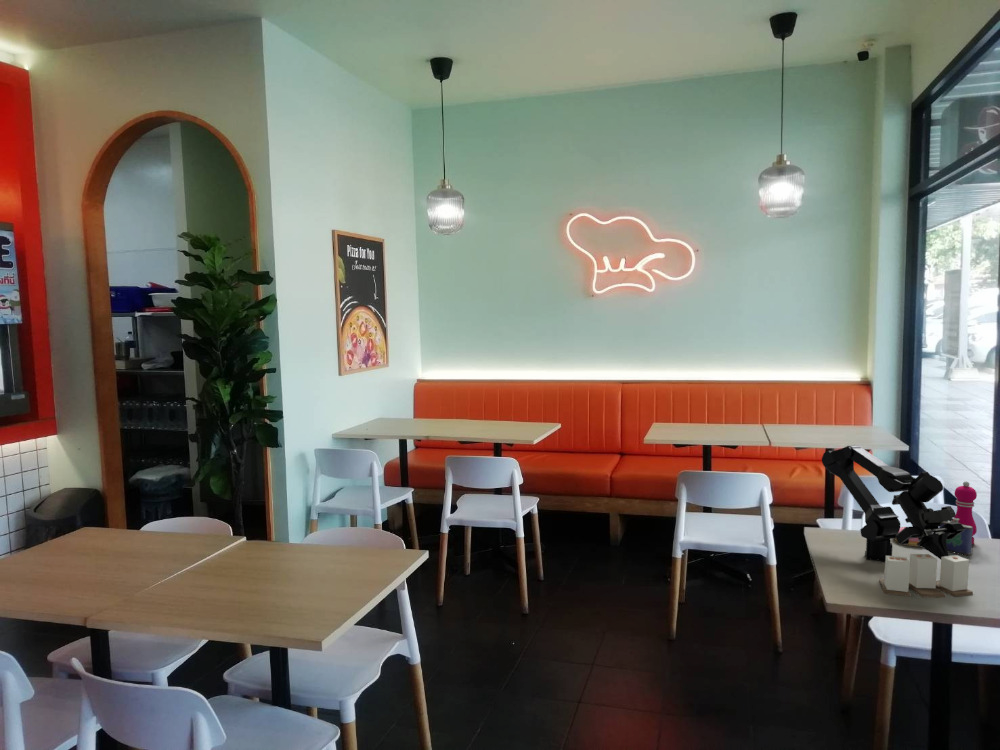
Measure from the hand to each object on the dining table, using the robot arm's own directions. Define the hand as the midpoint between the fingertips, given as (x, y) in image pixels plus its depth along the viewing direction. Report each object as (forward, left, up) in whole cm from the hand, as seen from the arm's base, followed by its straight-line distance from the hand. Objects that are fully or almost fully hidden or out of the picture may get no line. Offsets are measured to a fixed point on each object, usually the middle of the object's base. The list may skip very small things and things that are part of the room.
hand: (947, 561), depth 192 cm
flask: (+7, +34, -7) cm, 36 cm away
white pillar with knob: (+1, -2, -7) cm, 8 cm away
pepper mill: (+11, +46, -7) cm, 48 cm away
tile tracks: (-5, -4, -7) cm, 10 cm away
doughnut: (-4, +39, -8) cm, 40 cm away
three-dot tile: (-13, -9, -7) cm, 17 cm away
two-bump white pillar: (-6, -4, -7) cm, 10 cm away
